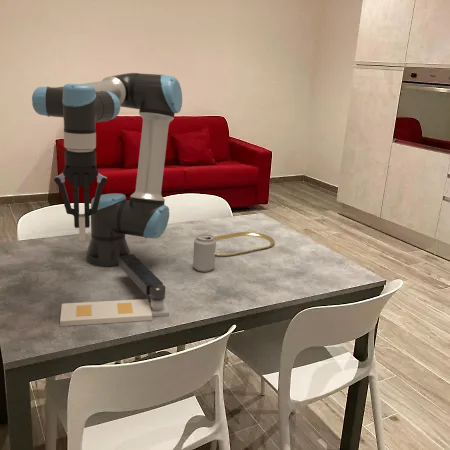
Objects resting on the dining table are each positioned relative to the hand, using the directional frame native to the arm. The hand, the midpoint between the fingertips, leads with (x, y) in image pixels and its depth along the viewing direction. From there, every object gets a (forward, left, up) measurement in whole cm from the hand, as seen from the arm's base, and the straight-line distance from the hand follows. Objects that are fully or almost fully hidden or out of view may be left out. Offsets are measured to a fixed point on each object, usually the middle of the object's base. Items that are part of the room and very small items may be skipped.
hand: (82, 239), depth 129 cm
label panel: (0, +8, -22) cm, 24 cm away
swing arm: (-11, +17, -18) cm, 27 cm away
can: (-29, +40, -23) cm, 54 cm away
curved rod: (-51, +58, -23) cm, 81 cm away
